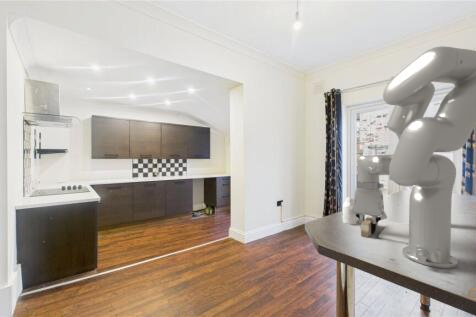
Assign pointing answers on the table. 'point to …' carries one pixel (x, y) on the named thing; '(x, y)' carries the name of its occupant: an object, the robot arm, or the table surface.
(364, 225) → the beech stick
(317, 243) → the table surface
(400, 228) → the grey mat
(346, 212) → the white bottle
